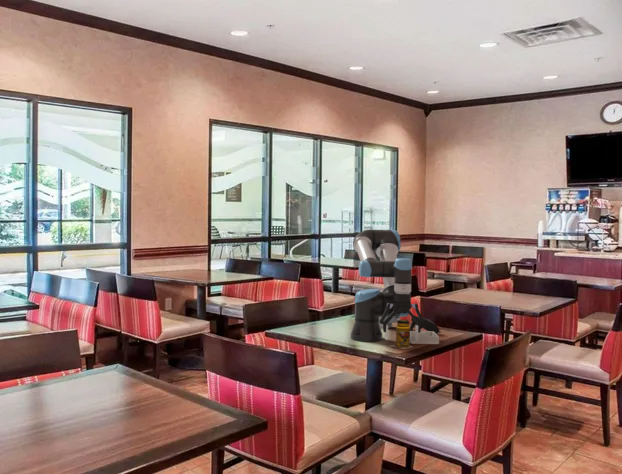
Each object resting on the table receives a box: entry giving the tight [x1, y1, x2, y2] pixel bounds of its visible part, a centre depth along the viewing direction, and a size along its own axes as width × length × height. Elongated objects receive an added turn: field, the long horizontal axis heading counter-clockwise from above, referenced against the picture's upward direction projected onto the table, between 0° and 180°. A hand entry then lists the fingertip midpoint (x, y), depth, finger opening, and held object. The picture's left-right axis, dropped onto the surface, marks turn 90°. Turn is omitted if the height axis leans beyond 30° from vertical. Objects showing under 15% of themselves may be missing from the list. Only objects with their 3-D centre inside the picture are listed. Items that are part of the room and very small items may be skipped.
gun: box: [409, 314, 442, 335], centre depth 294 cm, size 3×16×10 cm, turn 89°
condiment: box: [390, 319, 414, 350], centre depth 265 cm, size 7×8×12 cm
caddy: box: [410, 330, 440, 345], centre depth 277 cm, size 13×12×4 cm
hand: (401, 339), depth 265 cm, fingers open, 13 cm apart
